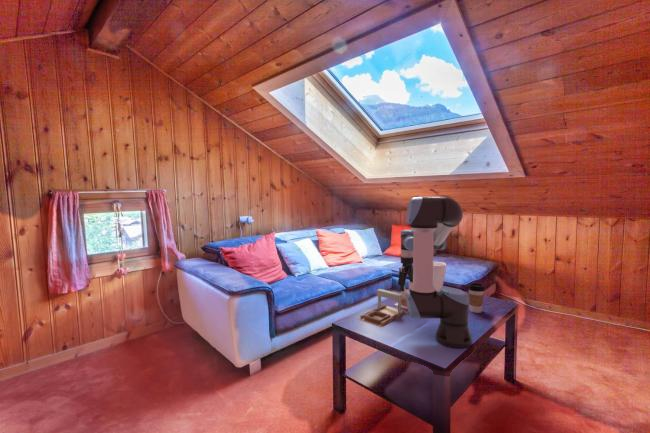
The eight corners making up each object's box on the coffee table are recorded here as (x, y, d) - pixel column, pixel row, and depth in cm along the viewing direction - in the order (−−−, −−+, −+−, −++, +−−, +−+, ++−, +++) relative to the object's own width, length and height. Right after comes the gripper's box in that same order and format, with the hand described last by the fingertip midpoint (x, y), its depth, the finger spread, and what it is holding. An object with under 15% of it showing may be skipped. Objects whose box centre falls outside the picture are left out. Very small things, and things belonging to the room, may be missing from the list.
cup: (434, 293, 211) (434, 260, 209) (449, 297, 202) (450, 263, 200) (422, 296, 205) (423, 263, 203) (438, 301, 195) (438, 266, 193)
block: (408, 306, 187) (408, 293, 187) (400, 304, 191) (400, 291, 190) (412, 304, 191) (412, 290, 190) (405, 302, 195) (405, 289, 194)
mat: (410, 310, 183) (410, 309, 183) (393, 305, 191) (393, 304, 191) (420, 304, 191) (420, 304, 191) (403, 300, 199) (403, 299, 199)
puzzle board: (380, 330, 158) (380, 323, 158) (357, 322, 168) (357, 315, 167) (408, 314, 176) (408, 308, 176) (386, 308, 186) (386, 302, 186)
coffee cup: (465, 311, 180) (465, 284, 179) (470, 306, 186) (471, 281, 185) (481, 315, 175) (481, 287, 173) (486, 310, 181) (486, 284, 179)
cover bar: (399, 314, 170) (399, 295, 169) (376, 307, 179) (376, 290, 178) (402, 312, 172) (402, 294, 171) (380, 305, 182) (380, 288, 181)
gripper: (410, 252, 199) (410, 289, 201) (391, 258, 183) (391, 297, 186) (422, 254, 193) (421, 291, 195) (403, 260, 178) (403, 300, 180)
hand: (407, 294), depth 190 cm, fingers open, 8 cm apart
